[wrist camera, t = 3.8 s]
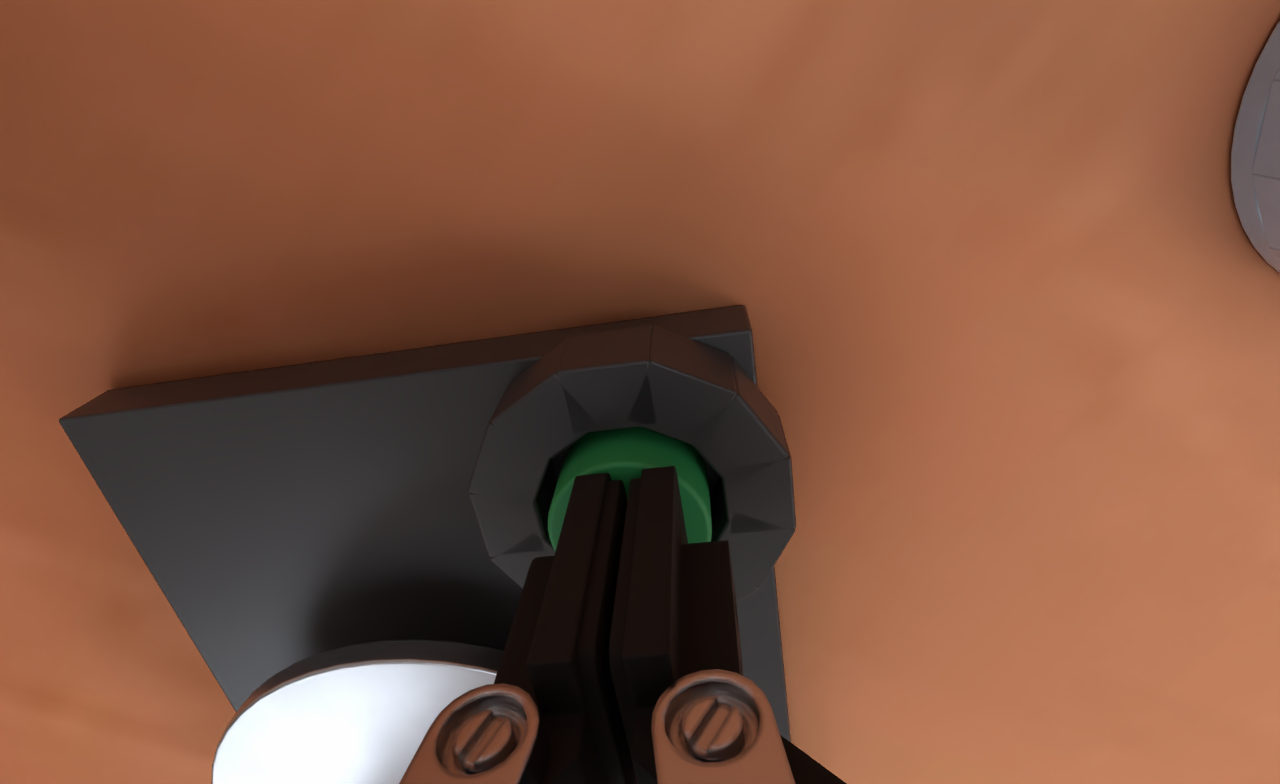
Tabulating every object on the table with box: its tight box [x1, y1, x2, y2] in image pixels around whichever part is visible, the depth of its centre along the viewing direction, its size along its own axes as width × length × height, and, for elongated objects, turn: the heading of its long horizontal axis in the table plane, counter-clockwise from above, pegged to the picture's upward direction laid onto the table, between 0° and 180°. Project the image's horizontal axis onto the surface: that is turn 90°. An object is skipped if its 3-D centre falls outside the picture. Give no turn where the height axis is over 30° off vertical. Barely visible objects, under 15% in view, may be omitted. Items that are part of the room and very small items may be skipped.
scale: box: [59, 305, 796, 742], centre depth 16 cm, size 16×14×3 cm
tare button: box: [548, 426, 712, 552], centre depth 12 cm, size 3×3×2 cm
